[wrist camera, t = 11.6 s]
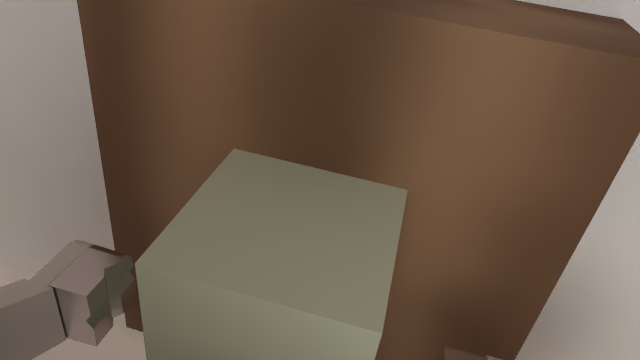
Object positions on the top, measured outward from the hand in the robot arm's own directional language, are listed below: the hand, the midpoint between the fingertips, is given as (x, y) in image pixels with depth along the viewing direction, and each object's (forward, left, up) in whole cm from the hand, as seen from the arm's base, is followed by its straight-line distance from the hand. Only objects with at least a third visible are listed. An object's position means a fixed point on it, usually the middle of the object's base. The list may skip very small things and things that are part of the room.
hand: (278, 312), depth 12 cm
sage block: (0, 0, -3) cm, 3 cm away
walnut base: (0, 0, -7) cm, 7 cm away
